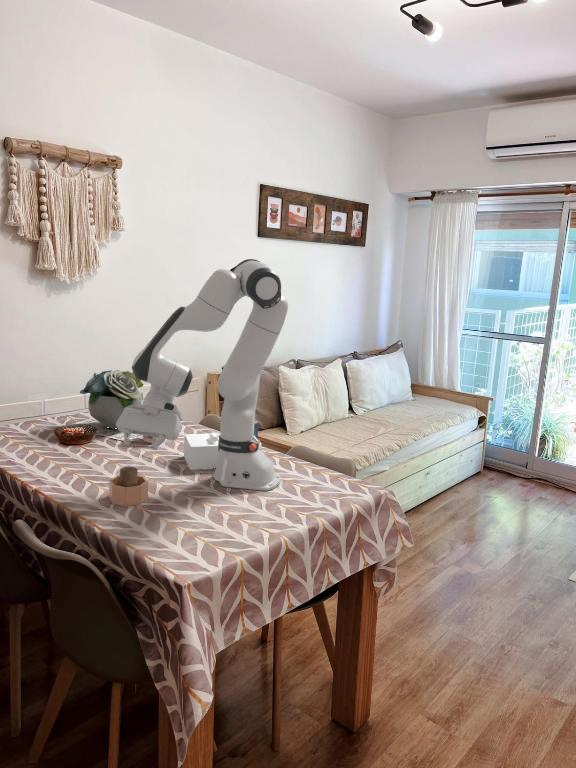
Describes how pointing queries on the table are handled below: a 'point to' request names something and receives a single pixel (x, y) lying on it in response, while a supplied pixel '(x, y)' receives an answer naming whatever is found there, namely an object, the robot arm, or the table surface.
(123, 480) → the peg
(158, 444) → the robot arm
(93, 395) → the flower arrangement
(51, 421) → the table surface
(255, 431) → the flask
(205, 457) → the tissue box
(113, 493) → the cup
